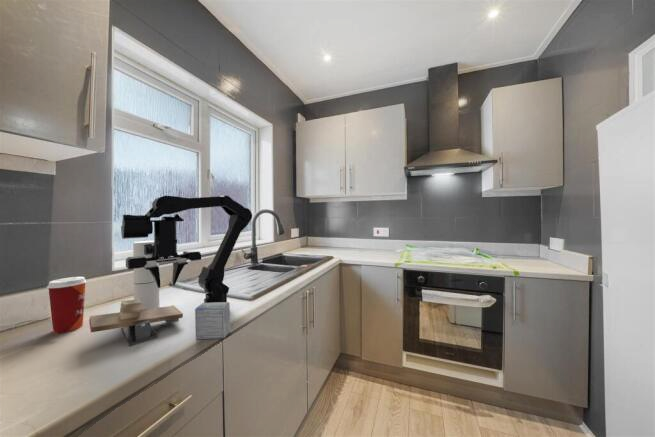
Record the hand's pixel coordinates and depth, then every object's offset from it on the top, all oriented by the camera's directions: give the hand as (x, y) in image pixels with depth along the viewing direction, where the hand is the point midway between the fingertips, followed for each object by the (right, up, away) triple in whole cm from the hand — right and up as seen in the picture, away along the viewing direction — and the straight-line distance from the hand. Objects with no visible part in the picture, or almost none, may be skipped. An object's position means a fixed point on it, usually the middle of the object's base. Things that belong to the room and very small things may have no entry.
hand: (166, 286), depth 73 cm
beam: (-5, -9, -5) cm, 12 cm away
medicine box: (+18, -12, -7) cm, 23 cm away
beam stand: (-5, -12, -5) cm, 14 cm away
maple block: (-6, -7, -7) cm, 11 cm away
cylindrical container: (-14, -12, +11) cm, 22 cm away
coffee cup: (-29, -13, -2) cm, 31 cm away
